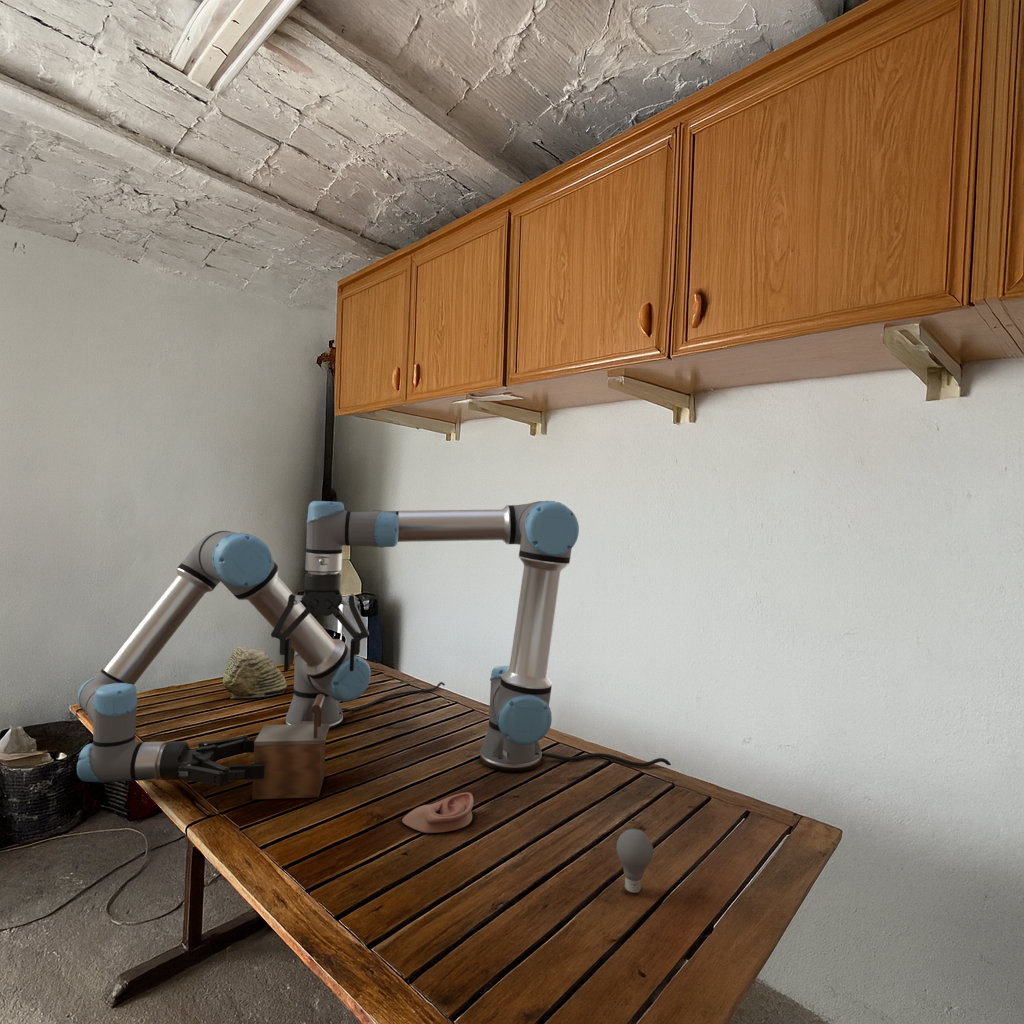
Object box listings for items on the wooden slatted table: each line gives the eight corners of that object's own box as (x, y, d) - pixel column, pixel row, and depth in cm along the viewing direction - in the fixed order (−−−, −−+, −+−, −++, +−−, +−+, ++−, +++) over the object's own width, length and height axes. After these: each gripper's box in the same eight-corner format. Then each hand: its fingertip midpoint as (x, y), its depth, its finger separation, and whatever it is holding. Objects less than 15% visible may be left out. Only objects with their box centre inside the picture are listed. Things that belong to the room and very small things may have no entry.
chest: (324, 777, 143) (326, 727, 143) (318, 797, 134) (320, 744, 133) (262, 779, 141) (264, 728, 141) (251, 799, 131) (254, 746, 131)
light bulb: (610, 879, 108) (613, 822, 108) (644, 879, 109) (647, 822, 109) (619, 902, 102) (622, 840, 102) (655, 901, 103) (658, 840, 103)
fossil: (218, 695, 195) (220, 647, 195) (278, 685, 208) (279, 640, 207) (228, 703, 189) (230, 653, 188) (289, 692, 201) (290, 645, 201)
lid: (329, 727, 143) (331, 692, 143) (324, 744, 133) (326, 706, 133) (264, 728, 141) (265, 692, 140) (254, 745, 131) (255, 707, 131)
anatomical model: (396, 808, 122) (417, 782, 133) (395, 828, 122) (416, 801, 133) (463, 818, 119) (478, 791, 130) (462, 839, 119) (477, 810, 131)
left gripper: (183, 754, 145) (280, 752, 149) (139, 807, 120) (257, 802, 124) (184, 721, 145) (282, 720, 149) (140, 768, 120) (258, 764, 124)
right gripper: (258, 573, 131) (255, 674, 132) (381, 575, 136) (377, 674, 136) (266, 568, 139) (262, 665, 139) (382, 571, 143) (378, 664, 143)
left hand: (270, 757), depth 136 cm, fingers open, 13 cm apart
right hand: (319, 669), depth 138 cm, fingers open, 13 cm apart
